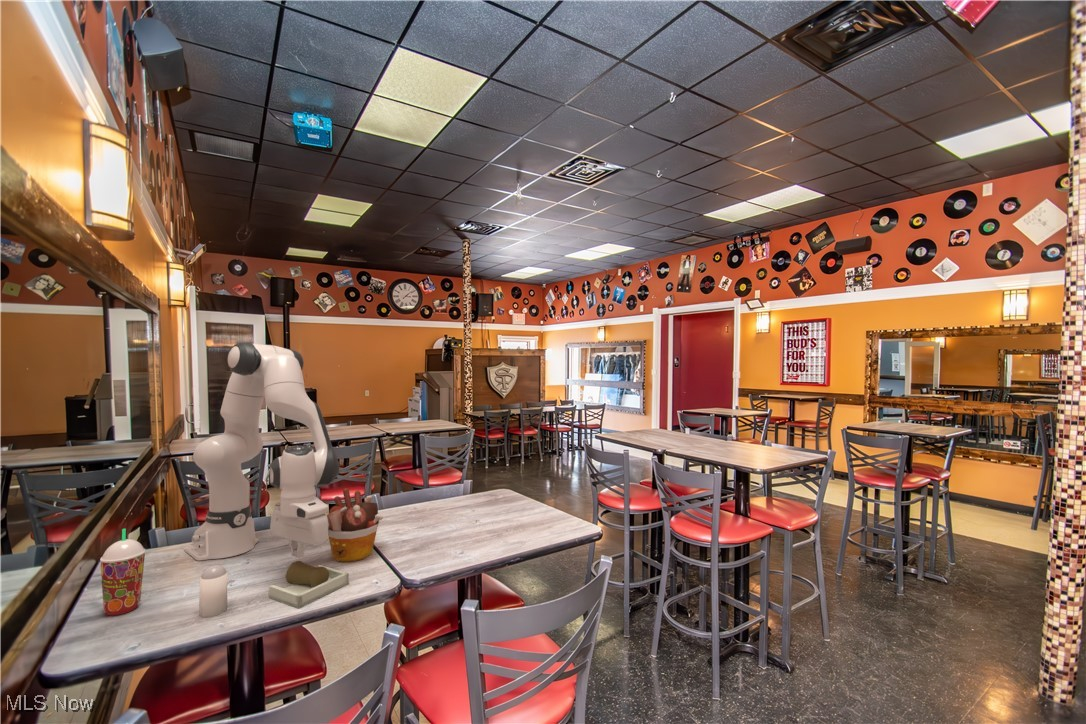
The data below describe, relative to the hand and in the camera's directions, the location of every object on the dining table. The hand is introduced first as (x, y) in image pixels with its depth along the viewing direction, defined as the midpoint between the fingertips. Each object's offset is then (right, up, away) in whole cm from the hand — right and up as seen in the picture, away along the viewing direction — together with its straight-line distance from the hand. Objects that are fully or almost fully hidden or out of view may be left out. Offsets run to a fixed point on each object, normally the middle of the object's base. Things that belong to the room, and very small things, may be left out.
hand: (297, 555), depth 127 cm
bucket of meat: (+6, -9, +22) cm, 24 cm away
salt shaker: (-14, -8, -14) cm, 21 cm away
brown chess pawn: (-2, -5, +2) cm, 6 cm away
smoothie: (-37, -8, -13) cm, 40 cm away
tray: (+5, -8, -3) cm, 10 cm away
